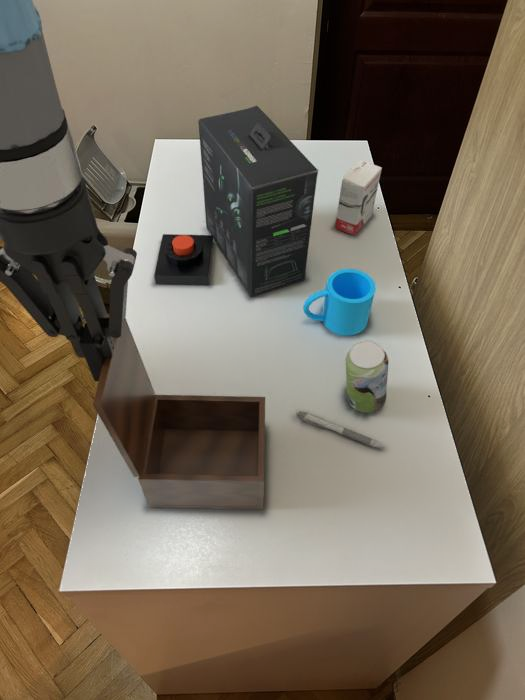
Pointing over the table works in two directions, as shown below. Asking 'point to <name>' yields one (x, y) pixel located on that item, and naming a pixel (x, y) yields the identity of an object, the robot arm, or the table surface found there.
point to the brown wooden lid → (126, 400)
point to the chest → (205, 452)
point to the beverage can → (366, 376)
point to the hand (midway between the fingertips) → (103, 371)
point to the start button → (183, 245)
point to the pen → (338, 429)
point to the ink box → (357, 197)
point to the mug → (345, 302)
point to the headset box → (257, 198)
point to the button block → (184, 262)
